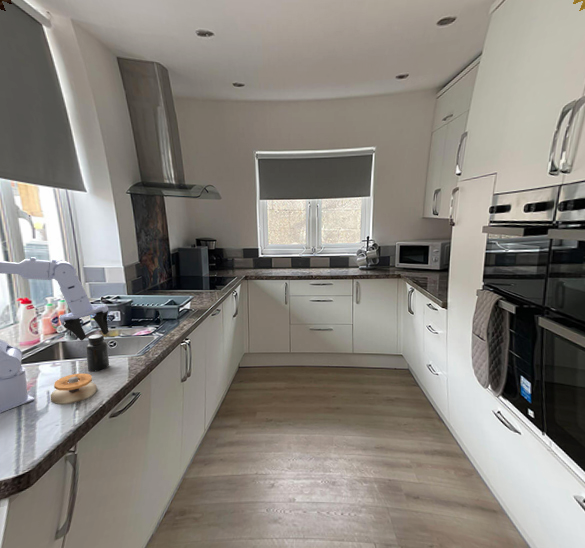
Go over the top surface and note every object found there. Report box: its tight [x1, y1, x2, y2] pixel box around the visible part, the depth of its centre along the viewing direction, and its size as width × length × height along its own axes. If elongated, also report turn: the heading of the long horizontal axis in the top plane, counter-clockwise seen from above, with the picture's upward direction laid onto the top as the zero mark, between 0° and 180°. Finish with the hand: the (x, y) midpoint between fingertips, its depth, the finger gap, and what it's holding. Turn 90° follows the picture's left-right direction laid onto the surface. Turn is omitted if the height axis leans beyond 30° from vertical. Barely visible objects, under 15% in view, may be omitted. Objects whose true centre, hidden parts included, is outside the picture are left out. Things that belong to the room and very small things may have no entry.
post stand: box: [50, 377, 98, 405], centre depth 106 cm, size 12×12×5 cm
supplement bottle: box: [85, 333, 110, 372], centre depth 124 cm, size 7×7×12 cm
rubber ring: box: [53, 373, 93, 391], centre depth 106 cm, size 10×10×1 cm
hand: (94, 336), depth 111 cm, fingers open, 7 cm apart
